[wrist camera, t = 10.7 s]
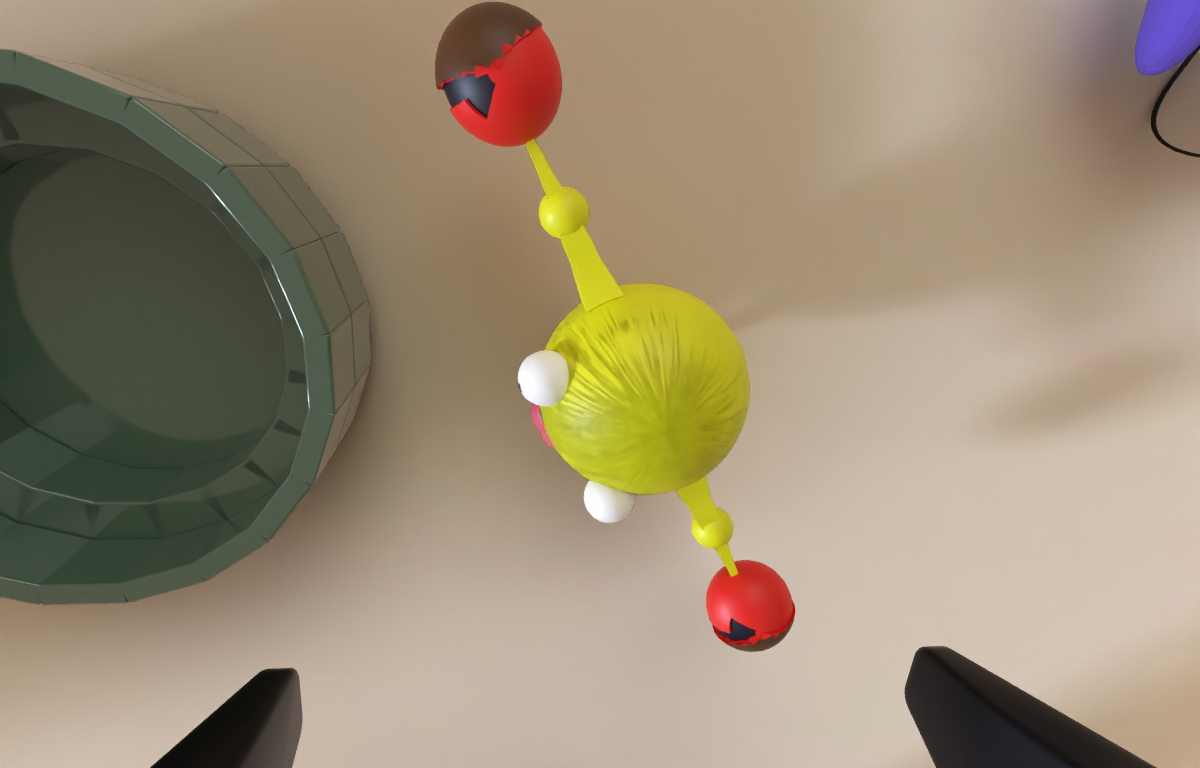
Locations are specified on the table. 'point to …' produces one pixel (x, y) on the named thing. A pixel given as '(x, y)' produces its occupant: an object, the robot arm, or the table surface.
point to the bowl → (157, 337)
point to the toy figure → (616, 337)
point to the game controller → (1167, 44)
